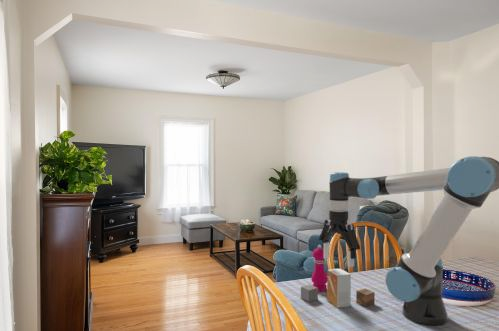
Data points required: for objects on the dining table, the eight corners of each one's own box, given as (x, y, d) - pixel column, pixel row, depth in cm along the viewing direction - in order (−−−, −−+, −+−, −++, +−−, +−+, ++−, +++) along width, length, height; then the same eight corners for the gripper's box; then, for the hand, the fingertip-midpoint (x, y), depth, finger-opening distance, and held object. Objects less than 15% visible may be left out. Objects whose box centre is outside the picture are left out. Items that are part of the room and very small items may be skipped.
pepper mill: (326, 286, 167) (326, 243, 167) (328, 292, 160) (328, 247, 159) (310, 285, 168) (310, 243, 167) (312, 291, 161) (312, 246, 160)
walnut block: (374, 304, 147) (374, 292, 146) (366, 307, 144) (366, 294, 144) (364, 300, 151) (364, 288, 151) (356, 302, 148) (356, 290, 148)
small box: (326, 300, 151) (326, 269, 150) (340, 298, 152) (340, 268, 152) (337, 308, 143) (337, 275, 143) (351, 306, 145) (351, 273, 144)
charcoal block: (317, 299, 152) (317, 287, 152) (308, 302, 149) (308, 290, 149) (309, 295, 156) (309, 284, 156) (300, 298, 153) (300, 286, 153)
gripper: (369, 213, 138) (369, 268, 139) (323, 205, 159) (323, 253, 160) (356, 215, 134) (355, 272, 135) (311, 207, 155) (310, 256, 156)
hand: (338, 262), depth 147 cm, fingers open, 13 cm apart
